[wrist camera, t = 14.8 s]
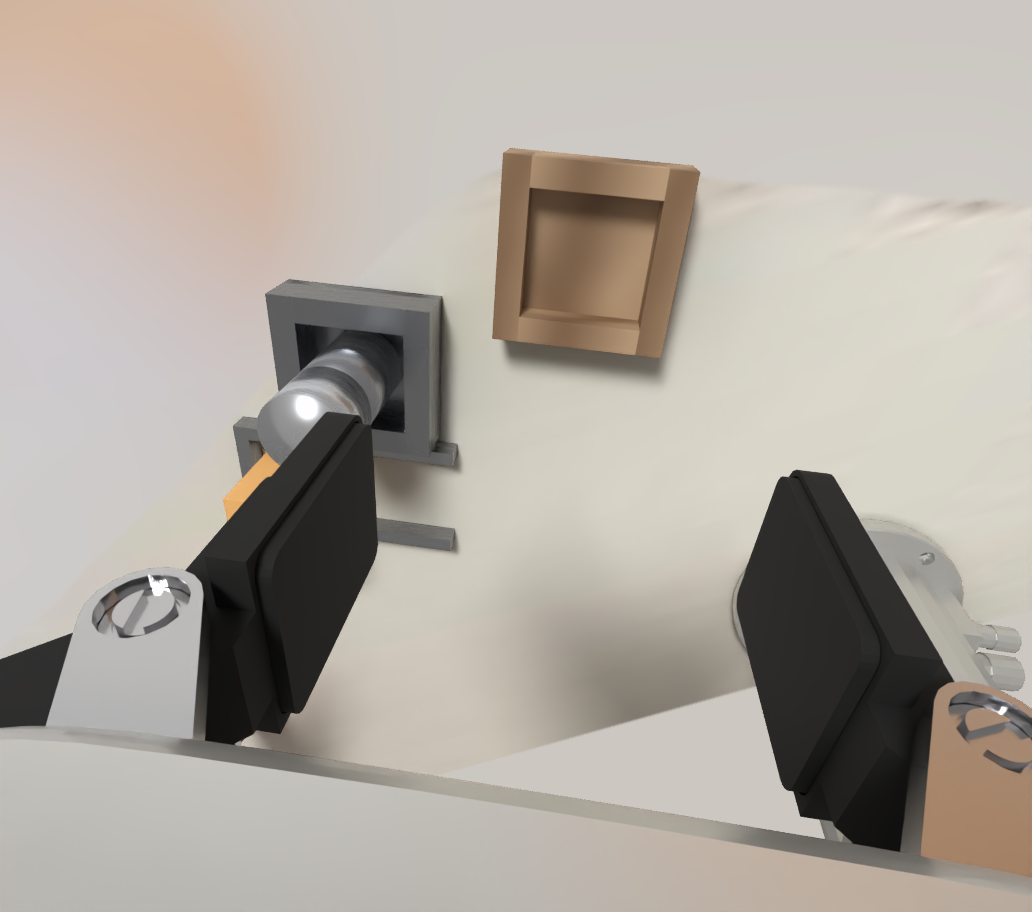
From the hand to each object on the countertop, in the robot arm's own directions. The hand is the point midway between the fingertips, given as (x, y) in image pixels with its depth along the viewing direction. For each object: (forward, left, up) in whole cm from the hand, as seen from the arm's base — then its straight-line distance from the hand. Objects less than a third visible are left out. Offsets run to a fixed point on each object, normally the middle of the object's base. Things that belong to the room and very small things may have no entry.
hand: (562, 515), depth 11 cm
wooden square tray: (0, 0, -21) cm, 21 cm away
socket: (+11, +7, -21) cm, 25 cm away
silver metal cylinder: (+11, +7, -21) cm, 24 cm away
